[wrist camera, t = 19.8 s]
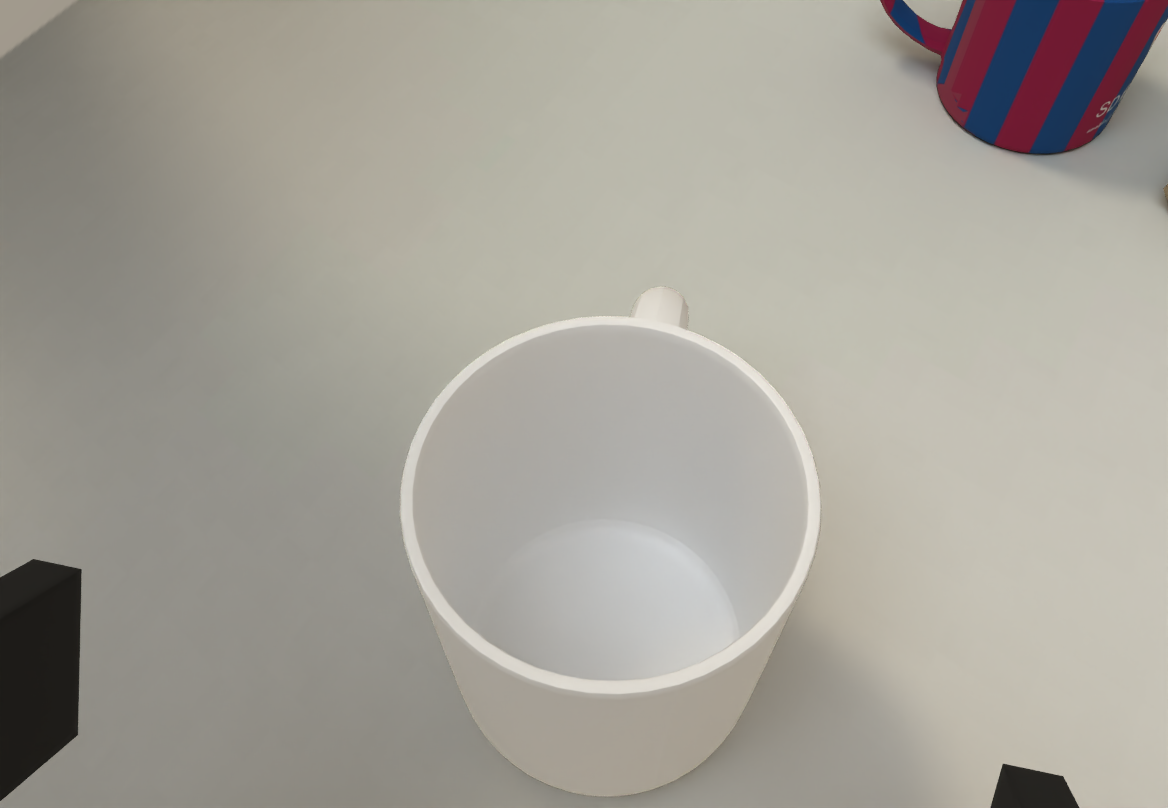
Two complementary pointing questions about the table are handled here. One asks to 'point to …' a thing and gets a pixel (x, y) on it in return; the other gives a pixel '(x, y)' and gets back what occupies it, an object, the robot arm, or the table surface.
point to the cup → (1036, 65)
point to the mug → (609, 542)
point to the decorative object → (1166, 191)
